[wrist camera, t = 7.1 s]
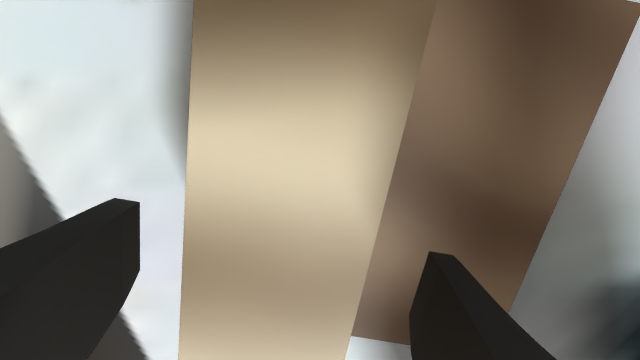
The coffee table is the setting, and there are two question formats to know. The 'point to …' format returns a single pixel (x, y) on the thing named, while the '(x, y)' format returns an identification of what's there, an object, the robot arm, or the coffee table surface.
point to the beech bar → (290, 168)
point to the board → (489, 144)
